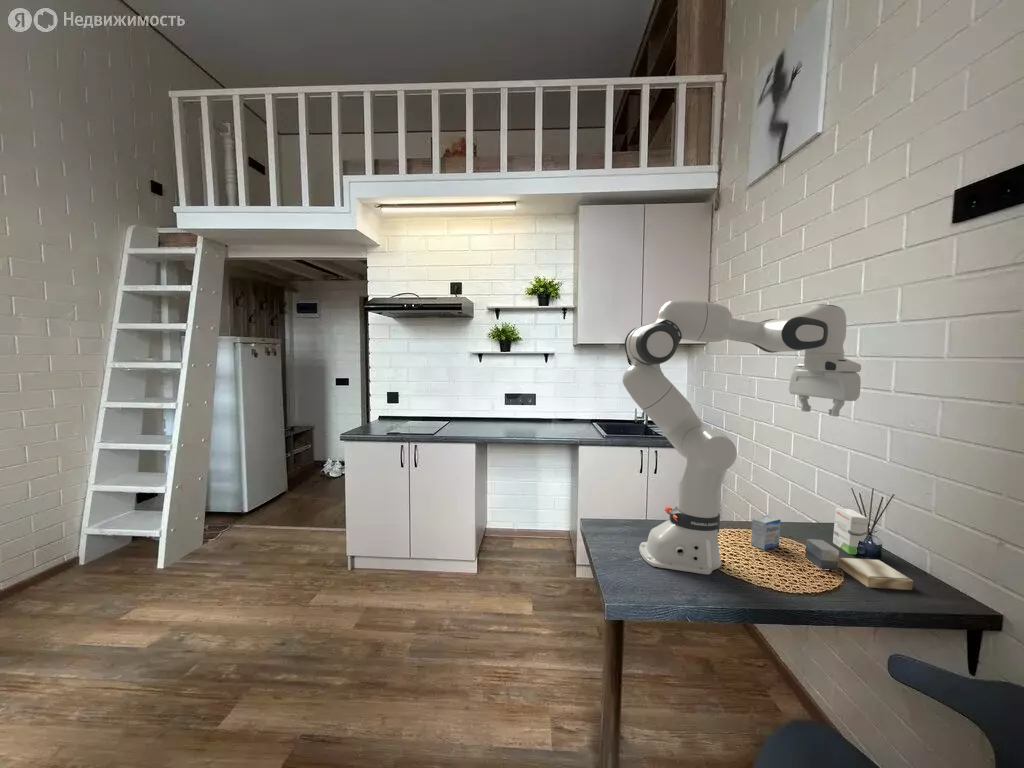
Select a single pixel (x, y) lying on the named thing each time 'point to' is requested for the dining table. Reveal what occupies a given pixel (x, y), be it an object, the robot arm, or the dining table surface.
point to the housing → (822, 554)
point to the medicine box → (765, 532)
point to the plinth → (875, 573)
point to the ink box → (849, 529)
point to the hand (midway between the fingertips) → (819, 413)
